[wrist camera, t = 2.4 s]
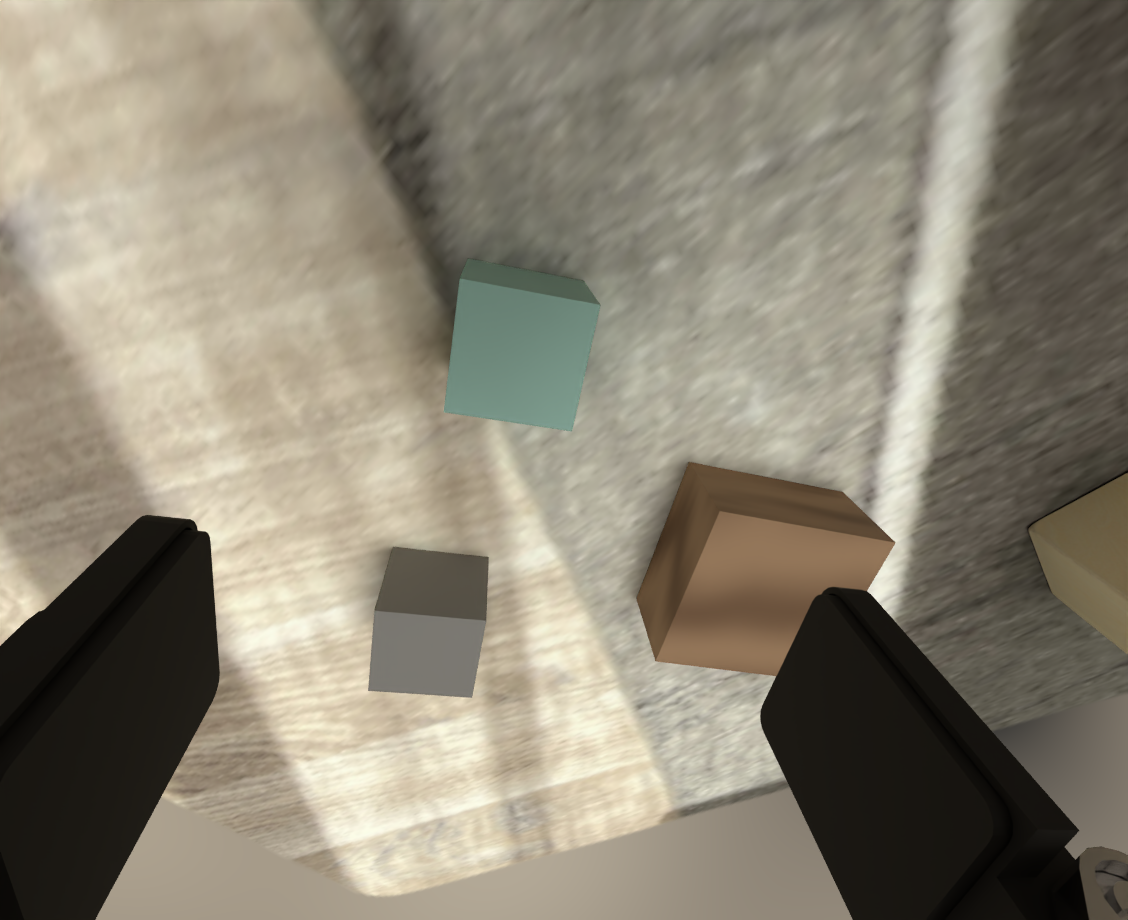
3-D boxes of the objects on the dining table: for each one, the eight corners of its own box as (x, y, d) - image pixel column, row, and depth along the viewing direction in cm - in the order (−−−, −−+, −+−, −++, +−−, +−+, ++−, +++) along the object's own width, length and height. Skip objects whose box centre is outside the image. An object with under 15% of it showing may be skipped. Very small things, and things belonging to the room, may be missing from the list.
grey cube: (393, 546, 30) (374, 610, 26) (488, 556, 31) (486, 620, 27) (386, 619, 33) (368, 690, 28) (476, 626, 33) (471, 697, 29)
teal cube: (468, 257, 24) (459, 278, 20) (583, 280, 25) (600, 305, 21) (453, 371, 26) (443, 412, 22) (561, 388, 27) (571, 431, 23)
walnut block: (687, 459, 30) (719, 511, 25) (840, 489, 32) (895, 542, 27) (635, 595, 34) (655, 661, 29) (774, 616, 35) (813, 680, 31)
